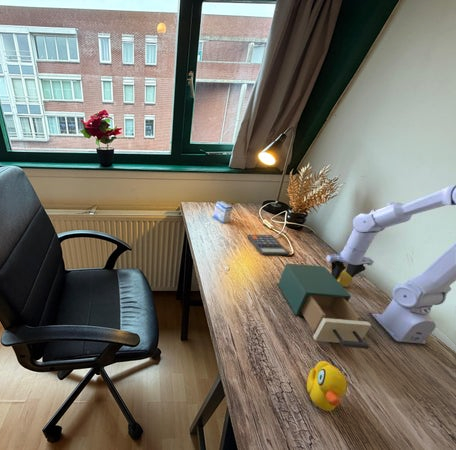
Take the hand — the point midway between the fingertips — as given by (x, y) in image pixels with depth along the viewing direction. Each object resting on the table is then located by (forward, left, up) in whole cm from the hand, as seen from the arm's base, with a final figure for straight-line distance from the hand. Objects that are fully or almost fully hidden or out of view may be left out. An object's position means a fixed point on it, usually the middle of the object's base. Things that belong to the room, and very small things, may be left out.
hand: (339, 278), depth 88 cm
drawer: (-23, +17, 0) cm, 29 cm away
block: (0, 0, -1) cm, 1 cm away
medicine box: (+45, +34, -2) cm, 56 cm away
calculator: (+22, +18, -1) cm, 28 cm away
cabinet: (-11, +17, -1) cm, 20 cm away
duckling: (-41, +29, -2) cm, 50 cm away
